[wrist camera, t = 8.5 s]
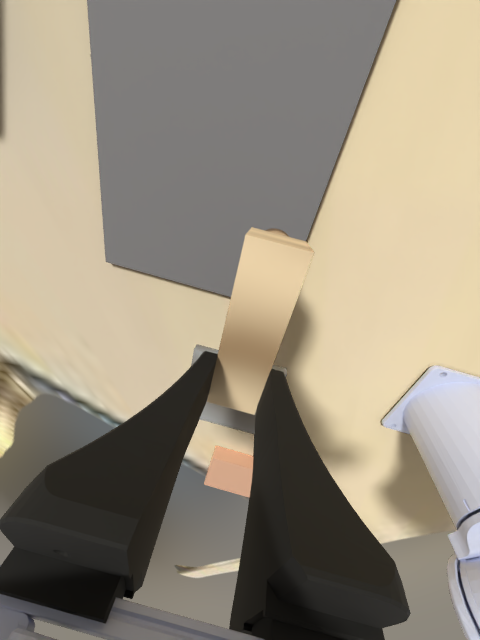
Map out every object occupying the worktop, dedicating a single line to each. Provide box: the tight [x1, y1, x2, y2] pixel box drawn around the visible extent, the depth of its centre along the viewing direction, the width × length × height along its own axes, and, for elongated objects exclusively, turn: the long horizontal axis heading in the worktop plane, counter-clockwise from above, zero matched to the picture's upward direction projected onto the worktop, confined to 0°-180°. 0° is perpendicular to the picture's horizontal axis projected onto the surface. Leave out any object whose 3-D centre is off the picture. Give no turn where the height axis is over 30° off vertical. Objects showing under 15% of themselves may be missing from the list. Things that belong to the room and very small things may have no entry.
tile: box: [204, 446, 253, 498], centre depth 32 cm, size 7×2×7 cm
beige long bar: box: [191, 227, 314, 434], centre depth 13 cm, size 14×6×4 cm, turn 167°
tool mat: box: [87, 0, 396, 297], centre depth 14 cm, size 14×18×1 cm
